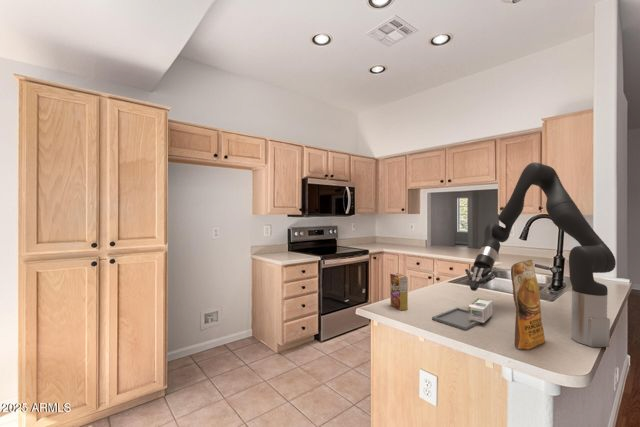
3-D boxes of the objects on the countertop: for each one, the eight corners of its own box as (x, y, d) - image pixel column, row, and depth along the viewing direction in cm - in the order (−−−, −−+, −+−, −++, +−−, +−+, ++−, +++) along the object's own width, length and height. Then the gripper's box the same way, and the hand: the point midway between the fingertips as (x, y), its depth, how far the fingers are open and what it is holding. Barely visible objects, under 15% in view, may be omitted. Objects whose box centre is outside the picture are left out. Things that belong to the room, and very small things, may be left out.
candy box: (389, 304, 145) (389, 273, 144) (397, 303, 146) (397, 272, 146) (399, 310, 136) (399, 277, 136) (408, 309, 137) (408, 276, 137)
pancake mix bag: (502, 345, 102) (502, 262, 101) (530, 333, 111) (531, 258, 111) (523, 353, 96) (524, 266, 95) (551, 340, 106) (552, 260, 105)
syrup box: (492, 300, 129) (483, 308, 118) (492, 314, 129) (483, 323, 118) (478, 298, 132) (467, 305, 122) (478, 311, 132) (468, 320, 122)
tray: (456, 310, 137) (456, 307, 137) (489, 318, 126) (489, 316, 126) (432, 319, 125) (432, 316, 125) (465, 330, 114) (465, 327, 114)
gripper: (468, 251, 142) (455, 281, 135) (498, 255, 132) (485, 287, 125) (473, 262, 146) (460, 291, 138) (503, 266, 135) (491, 298, 128)
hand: (472, 289), depth 131 cm, fingers closed
